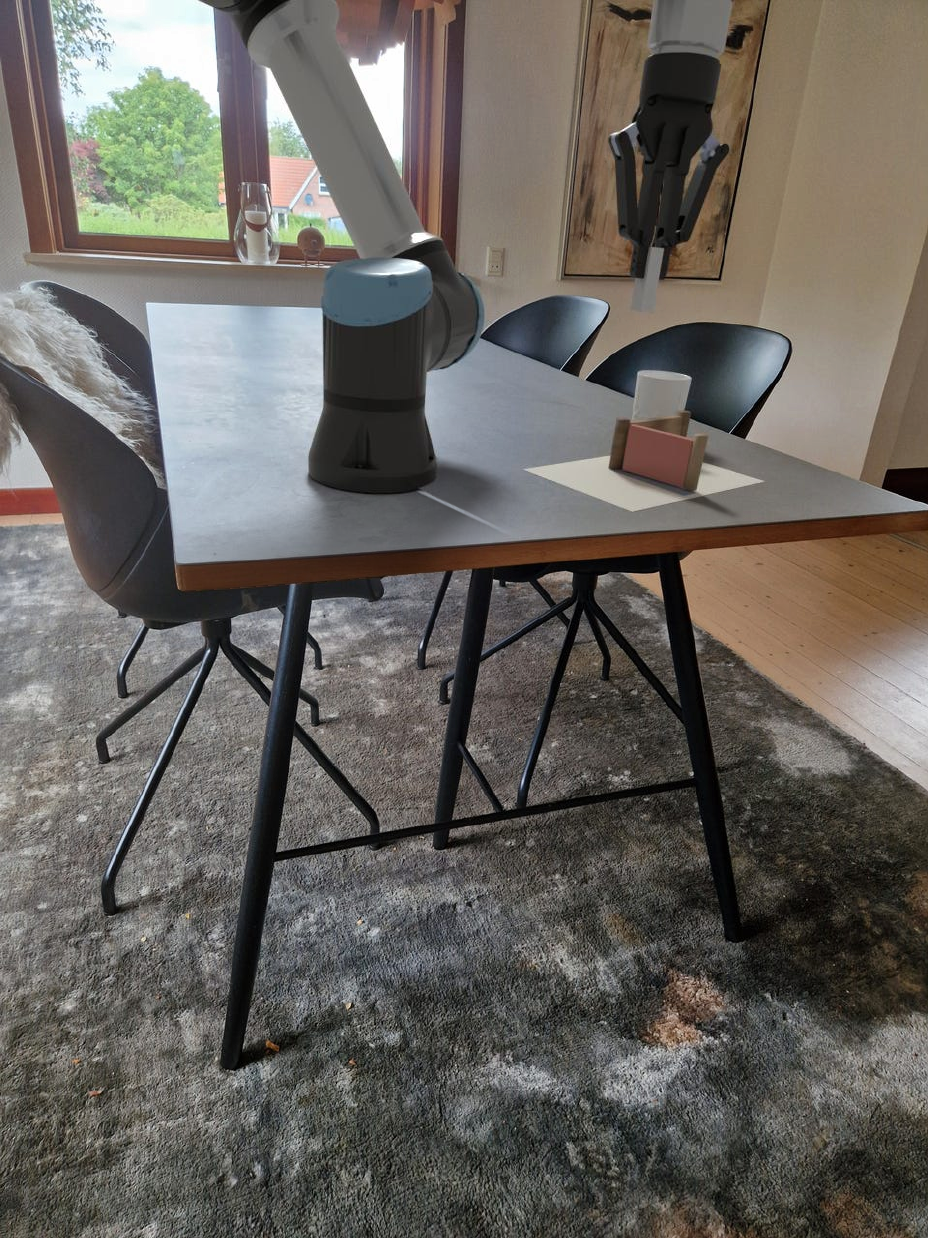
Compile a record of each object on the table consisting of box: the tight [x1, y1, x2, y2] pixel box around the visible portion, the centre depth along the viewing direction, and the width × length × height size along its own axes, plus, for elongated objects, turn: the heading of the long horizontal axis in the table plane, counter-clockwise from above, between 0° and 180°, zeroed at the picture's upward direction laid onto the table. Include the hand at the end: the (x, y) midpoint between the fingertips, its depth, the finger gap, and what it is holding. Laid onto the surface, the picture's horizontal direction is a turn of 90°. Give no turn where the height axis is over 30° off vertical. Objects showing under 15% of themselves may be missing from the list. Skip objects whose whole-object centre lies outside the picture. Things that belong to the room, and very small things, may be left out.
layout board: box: [522, 455, 766, 513], centre depth 102 cm, size 27×18×1 cm, turn 129°
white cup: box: [631, 369, 693, 421], centre depth 119 cm, size 8×8×10 cm
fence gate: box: [622, 424, 709, 491], centre depth 98 cm, size 10×2×7 cm, turn 45°
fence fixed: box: [608, 410, 692, 470], centre depth 106 cm, size 15×2×6 cm, turn 129°
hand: (641, 310), depth 88 cm, fingers closed
